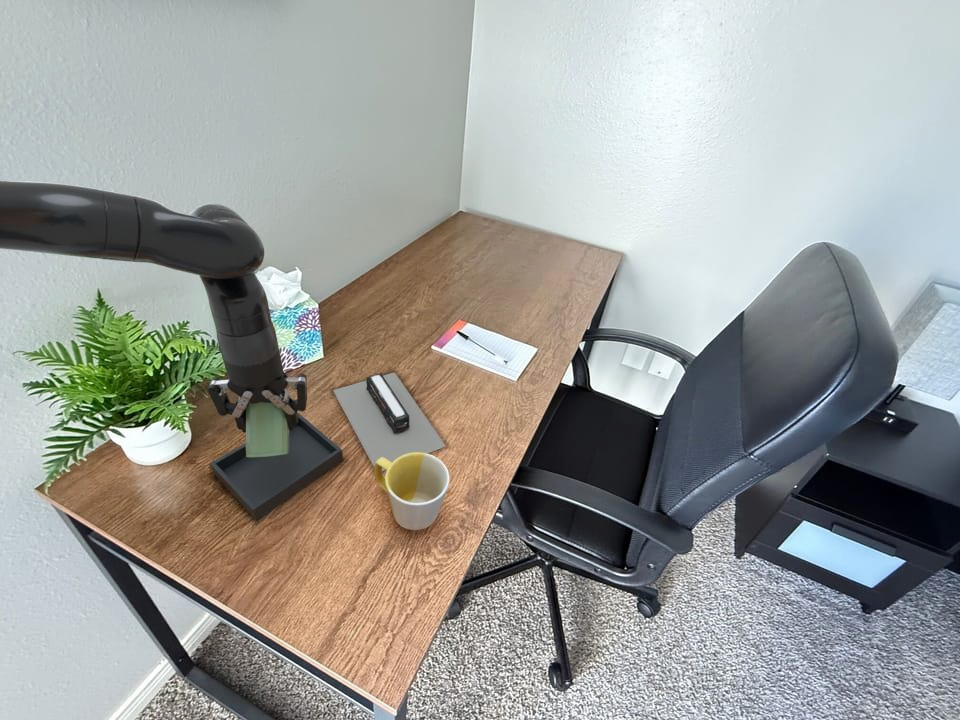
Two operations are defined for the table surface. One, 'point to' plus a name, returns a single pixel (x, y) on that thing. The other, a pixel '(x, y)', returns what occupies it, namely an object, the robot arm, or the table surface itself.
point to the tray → (277, 469)
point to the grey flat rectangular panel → (387, 418)
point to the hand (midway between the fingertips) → (269, 427)
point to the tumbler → (266, 430)
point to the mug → (414, 487)
